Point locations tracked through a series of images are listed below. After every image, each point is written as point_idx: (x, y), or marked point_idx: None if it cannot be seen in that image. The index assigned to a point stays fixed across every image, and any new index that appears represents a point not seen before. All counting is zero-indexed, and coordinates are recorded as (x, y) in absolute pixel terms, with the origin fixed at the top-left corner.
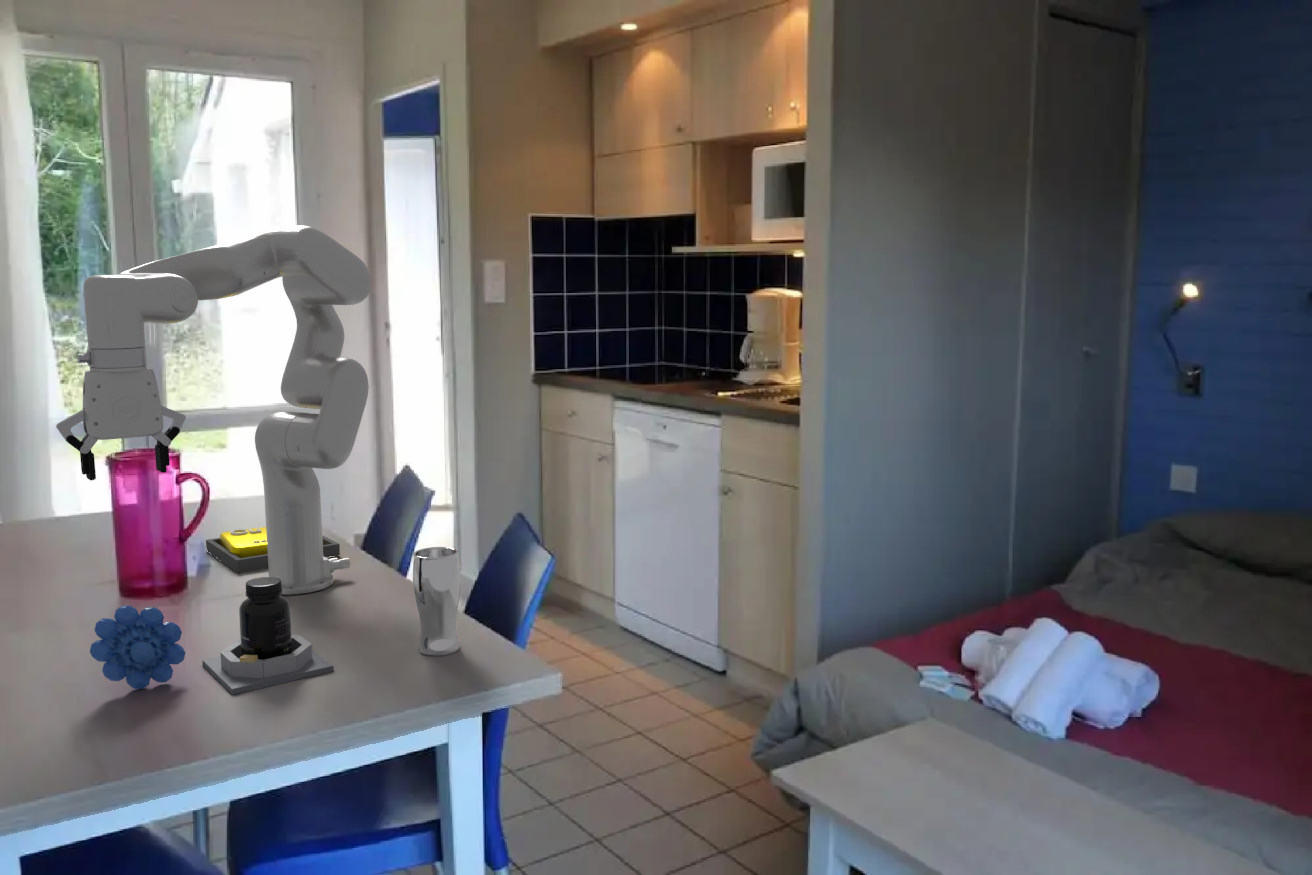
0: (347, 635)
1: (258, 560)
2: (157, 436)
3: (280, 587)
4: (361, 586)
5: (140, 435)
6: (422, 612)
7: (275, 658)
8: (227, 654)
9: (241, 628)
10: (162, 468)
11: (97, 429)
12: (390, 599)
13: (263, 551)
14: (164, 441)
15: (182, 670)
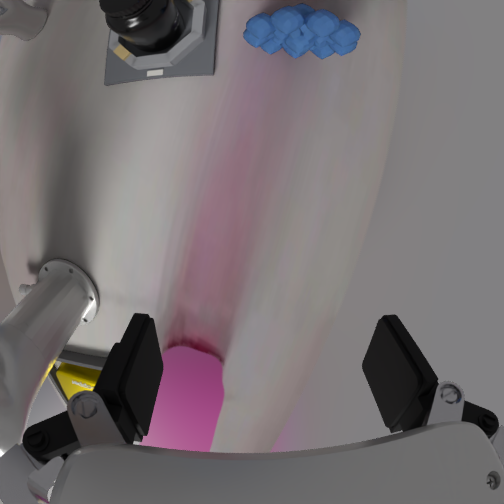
0: (62, 92)
1: (96, 363)
2: (114, 442)
3: None
4: (22, 249)
5: (215, 456)
6: (24, 5)
7: None
8: (198, 23)
9: (175, 8)
10: (144, 323)
11: (477, 458)
12: (9, 190)
13: (91, 376)
14: (94, 415)
15: (237, 72)
